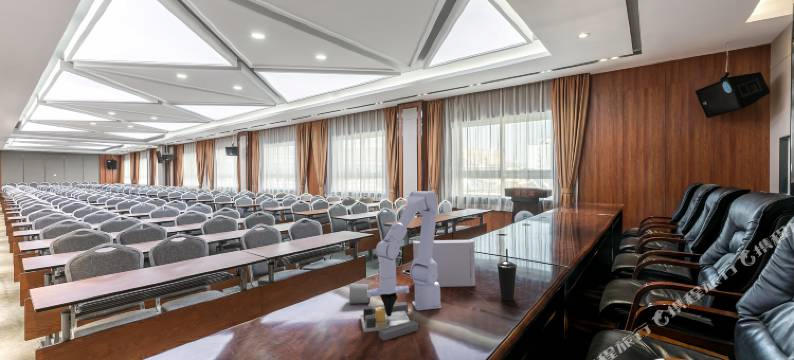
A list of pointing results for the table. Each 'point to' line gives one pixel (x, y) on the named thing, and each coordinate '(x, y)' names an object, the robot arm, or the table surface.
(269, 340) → the table surface
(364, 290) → the gray rounded block
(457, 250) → the game console
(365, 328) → the panel
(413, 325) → the duct
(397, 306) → the duct
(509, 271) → the drinking cup
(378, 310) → the orange l block
